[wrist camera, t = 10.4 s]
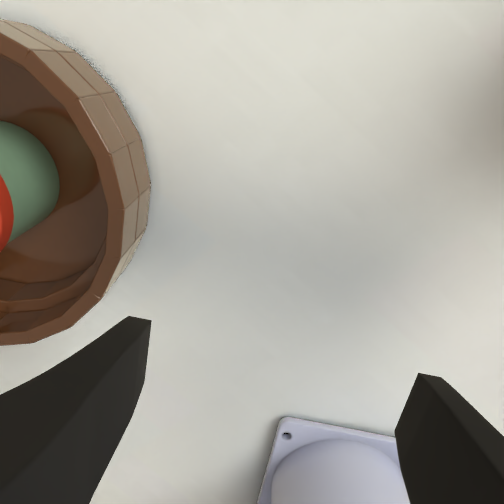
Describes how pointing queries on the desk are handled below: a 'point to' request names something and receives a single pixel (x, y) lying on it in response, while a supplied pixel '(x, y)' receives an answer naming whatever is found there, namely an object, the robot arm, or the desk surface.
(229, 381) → the desk surface
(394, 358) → the desk surface
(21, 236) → the bowl
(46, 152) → the container
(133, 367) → the robot arm
